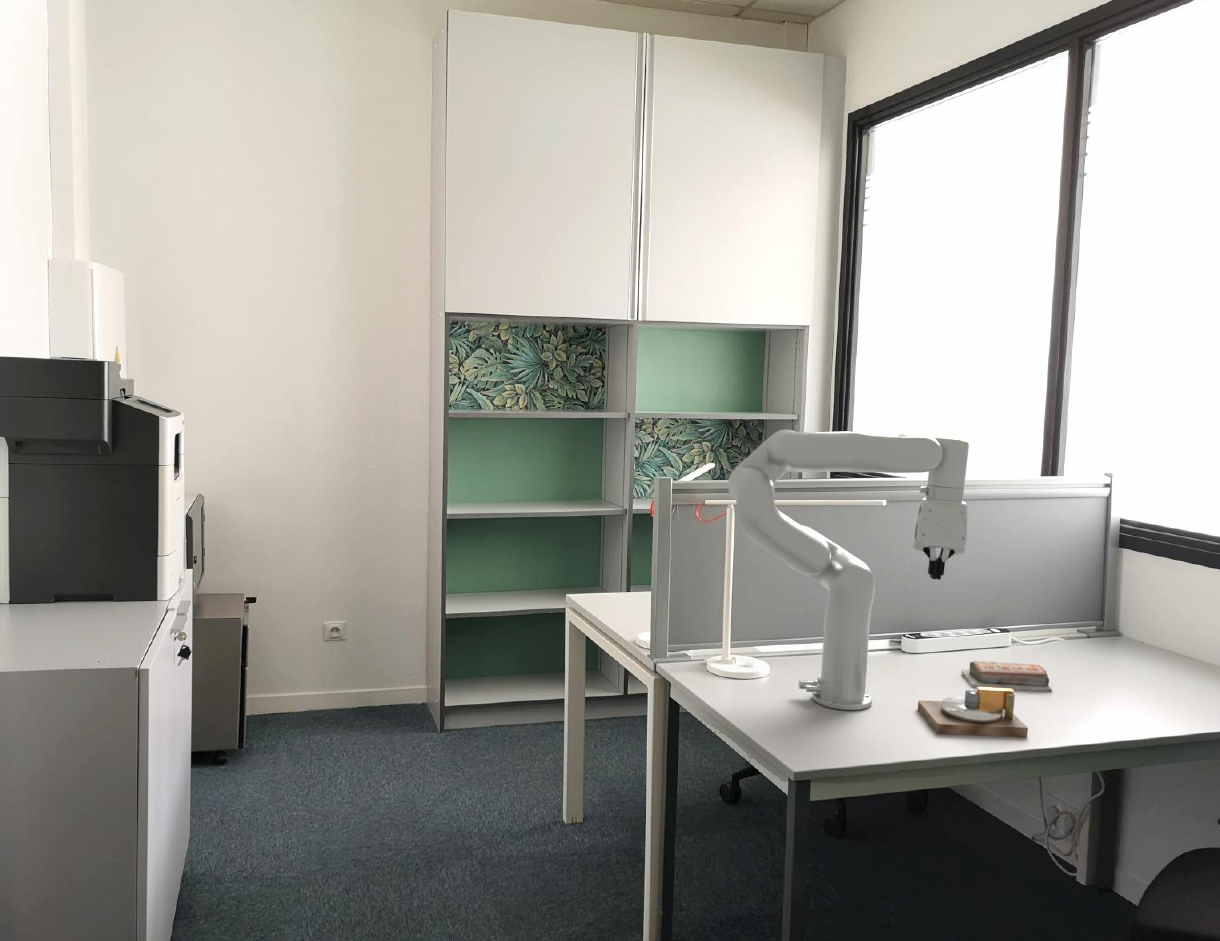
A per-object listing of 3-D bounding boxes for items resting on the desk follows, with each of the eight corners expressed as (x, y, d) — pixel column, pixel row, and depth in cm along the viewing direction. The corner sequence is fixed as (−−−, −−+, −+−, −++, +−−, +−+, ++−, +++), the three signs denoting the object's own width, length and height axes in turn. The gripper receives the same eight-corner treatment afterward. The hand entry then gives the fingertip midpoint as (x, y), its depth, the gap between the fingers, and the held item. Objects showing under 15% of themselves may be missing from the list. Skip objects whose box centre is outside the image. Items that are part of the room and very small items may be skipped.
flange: (949, 720, 210) (951, 695, 209) (934, 700, 221) (936, 677, 221) (1020, 724, 209) (1022, 699, 208) (1001, 704, 221) (1003, 680, 220)
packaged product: (1039, 660, 247) (1053, 673, 237) (1037, 680, 247) (1052, 694, 237) (961, 656, 248) (973, 669, 238) (960, 675, 249) (971, 689, 239)
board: (937, 733, 209) (939, 699, 208) (917, 709, 222) (920, 677, 222) (1027, 737, 208) (1030, 703, 208) (1001, 712, 222) (1004, 681, 221)
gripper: (912, 493, 219) (903, 578, 221) (985, 499, 217) (975, 585, 220) (905, 489, 226) (896, 571, 228) (975, 494, 225) (966, 577, 227)
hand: (935, 578), depth 224 cm, fingers closed
